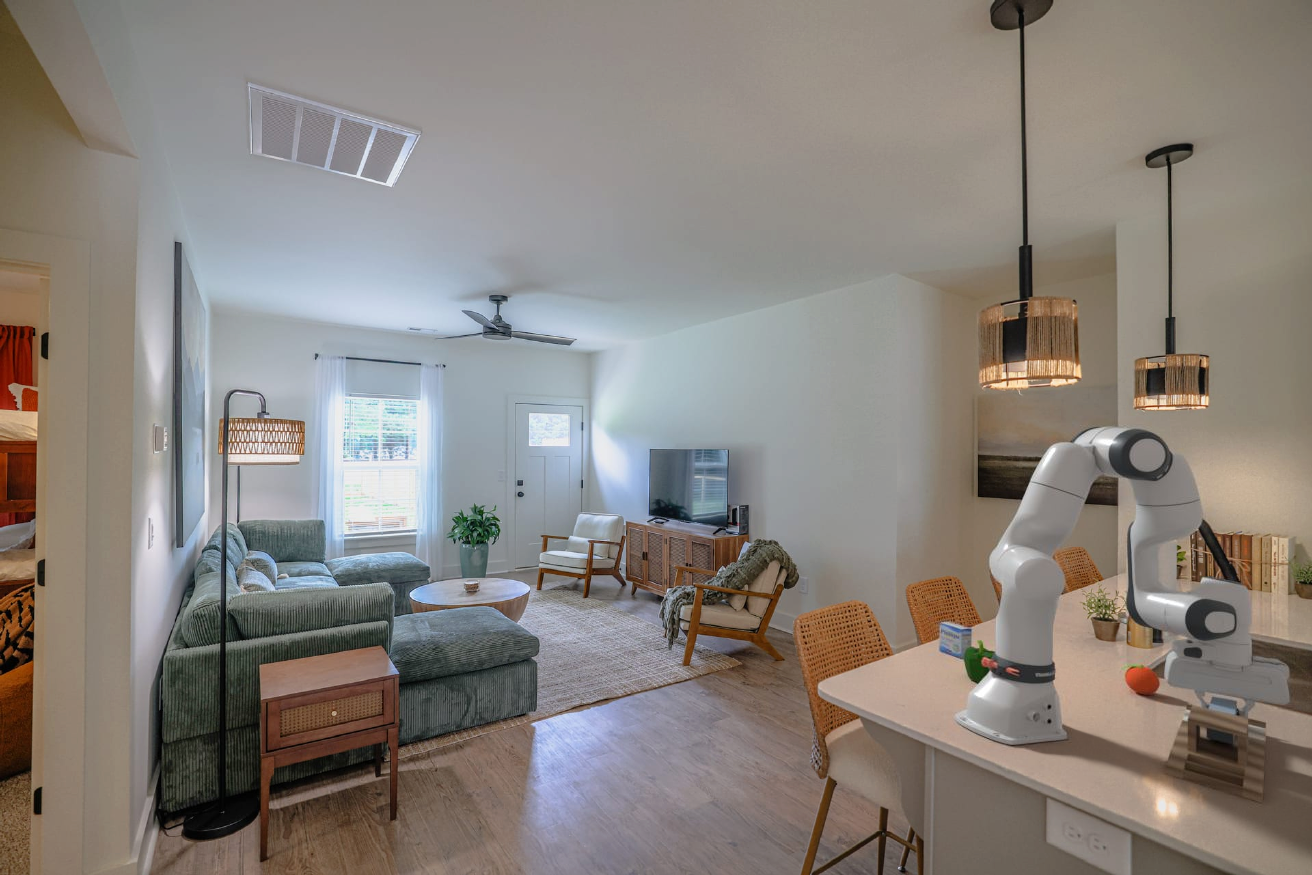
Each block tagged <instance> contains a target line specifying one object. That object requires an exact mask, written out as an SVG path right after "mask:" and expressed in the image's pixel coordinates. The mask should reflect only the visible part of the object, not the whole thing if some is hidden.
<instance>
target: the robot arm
mask: <svg viewBox="0 0 1312 875" xmlns="http://www.w3.org/2000/svg"><path fill="white" fill-rule="evenodd" d="M1102 475H1104V476H1106V477H1110V478H1118V479H1127V481H1129V484H1130V485H1131V487H1132V491H1133V498H1134V502H1135V517H1134V520H1133V521H1131V523H1130V525H1129V526H1128V529H1127V534H1126V535H1127V536H1126V548H1127V549H1126V550H1127V551H1126V557H1127V576H1128V577H1127V579H1128V581H1127V582H1128V584H1127V585H1128V586H1127V593H1126V597H1125V606H1126V610H1127V613H1128V615H1129V616H1130V618H1131V619H1132V621H1133V622H1134V623H1136V624H1137V625H1139V626H1141V627H1143V628H1147V629H1154V630H1159V631H1164V632H1167V633H1169V634H1170V633H1171V634H1173V635H1175V636H1181V637H1184V638H1182V639H1181V638H1180V639H1173V640H1172V641H1171V643H1170V644H1171V649H1172V651H1170V652H1169V653H1168V654H1167V655H1166V659H1165V665H1164V675H1163V676H1164V677H1163V678H1164V680H1165V682H1167V684H1168V685H1169V686H1170V687H1173V688H1179V689H1186V690H1191V691H1194V694H1195V695H1196V696H1197V698H1198V700H1199V701H1200V707H1203V708H1207V709H1209V706H1210V702H1206V701H1205V700H1204V698H1203V697H1205V696H1206V693H1209V694H1216V695H1220V696H1225V697H1233V698H1239V699H1243V701H1244V702H1245V703H1244V705H1243V706H1242V707H1241V708H1240V707H1237V716H1242V717H1246V718H1249V712H1250V711H1252V709H1253V708H1254V707H1255V706H1256V701H1257V702H1264V703H1267V704H1268V703H1269V704H1274V705H1275V704H1276V705H1282V706H1285V705H1287V704H1288V703H1290V692H1289V686H1288V680H1289V679H1290V667H1289V666H1288V665H1287V664H1286V663H1285V662H1283V661H1281V660H1280V659H1277V658H1272V657H1271V658H1268V657H1264V656H1257V655H1253V651H1252V650H1253V647H1252V646H1253V643H1252V642H1253V641H1252V637H1251V636H1250V635H1251V634H1250V629H1251V626H1252V622H1253V621H1252V619H1253V618H1252V617H1253V615H1252V614H1253V613H1252V603H1251V602H1252V601H1251V596H1250V592H1249V590H1248V588H1247V586H1246V585H1245V584H1243V583H1241V582H1238V581H1233V580H1230V579H1226V578H1225V579H1224V578H1219V577H1214V576H1203V577H1201V580H1200V583H1199V585H1198V586H1196V587H1194V588H1193V589H1190V590H1188V591H1180V590H1176V589H1172V588H1168V587H1166V586H1165V585H1164V584H1162V582H1161V580H1160V562H1159V561H1160V560H1159V558H1160V557H1159V551H1160V548H1161V547H1162V546H1163V545H1164V544H1167V543H1170V542H1174V541H1179V540H1182V539H1185V538H1187V537H1189V536H1191V535H1193V533H1195V532H1196V531H1197V530H1198V529H1199V528H1200V527H1201V525H1202V523H1203V518H1204V517H1203V515H1204V512H1203V506H1202V501H1201V498H1200V493H1199V489H1198V486H1197V485H1198V484H1197V482H1196V479H1195V477H1194V476H1195V475H1194V473H1193V472H1192V468H1191V467H1190V465H1189V462H1188V461H1187V458H1185V456H1184V455H1182V454H1181V453H1179V452H1177V451H1173V450H1170V449H1169V446H1168V445H1167V443H1166V442H1165V440H1164V439H1163V438H1162V437H1161V436H1159V435H1157V434H1156V433H1154V432H1151V431H1150V430H1147V429H1146V430H1145V429H1141V428H1129V427H1123V426H1095V427H1094V426H1093V427H1089V428H1086V429H1084V430H1082V431H1080V432H1078V433H1077V434H1076V435H1075V436H1074V437H1073V438H1071V440H1070V441H1069V442H1068V441H1066V442H1065V441H1062V442H1056V443H1053V444H1052V445H1051V446H1050V447H1048V449H1047V450H1046V452H1045V453H1044V454H1043V456H1042V457H1041V459H1040V460H1039V462H1038V465H1037V466H1036V468H1035V470H1034V472H1033V474H1032V476H1031V477H1030V480H1029V482H1028V486H1027V487H1026V490H1025V493H1024V494H1023V497H1022V500H1021V501H1020V504H1019V506H1018V509H1017V512H1016V513H1015V516H1014V517H1013V519H1012V521H1011V522H1010V524H1009V525H1008V527H1007V529H1006V530H1005V532H1004V533H1003V535H1002V536H1001V538H1000V539H999V541H998V544H997V546H996V547H995V548H994V549H993V550H992V551H991V554H990V555H989V561H988V563H989V569H990V571H991V572H990V573H991V574H992V576H993V579H995V580H996V582H998V583H999V584H1000V585H1001V597H1000V603H999V604H1000V605H999V608H998V612H997V615H996V617H995V632H994V633H995V635H994V636H995V637H994V638H995V639H994V640H995V648H994V650H995V652H994V653H993V656H992V659H988V658H986V657H984V658H983V660H982V662H981V663H982V665H983V666H985V667H989V669H990V671H989V673H988V674H987V675H986V676H985V677H984V678H983V679H982V680H981V681H980V682H978V684H976V686H975V687H974V688H972V690H971V691H970V692H969V694H968V696H967V700H966V701H967V703H966V709H963V710H961V711H959V712H957V713H955V714H954V720H955V721H956V722H957V723H958V724H959V725H960V726H962V727H965V728H966V729H968V730H970V731H972V732H974V733H975V734H978V735H980V736H982V737H984V738H987V739H990V740H992V741H996V742H998V743H1002V744H1004V745H1009V746H1010V745H1011V746H1012V745H1014V746H1015V745H1025V744H1033V743H1035V744H1036V743H1043V742H1052V741H1062V740H1068V733H1067V732H1066V730H1064V728H1063V721H1062V712H1061V700H1060V695H1059V694H1058V692H1057V689H1056V688H1055V684H1054V681H1055V679H1056V672H1057V671H1056V663H1055V662H1054V661H1053V660H1054V659H1053V657H1054V656H1053V652H1054V644H1053V643H1054V624H1055V618H1056V614H1057V610H1058V606H1059V602H1060V601H1059V600H1060V597H1061V595H1062V593H1063V592H1064V590H1065V587H1066V578H1065V577H1066V576H1065V574H1064V572H1063V570H1062V568H1061V567H1060V565H1059V564H1058V563H1057V561H1056V560H1055V559H1054V558H1053V556H1054V555H1055V554H1056V552H1057V551H1058V549H1059V548H1060V547H1061V545H1062V544H1063V542H1064V541H1065V540H1066V539H1067V538H1068V537H1069V536H1071V534H1072V533H1073V531H1074V529H1075V527H1076V524H1077V522H1078V520H1079V518H1080V515H1081V512H1082V511H1083V508H1084V505H1085V504H1086V503H1085V502H1086V500H1087V498H1088V495H1089V493H1090V491H1091V490H1090V489H1091V486H1092V485H1093V483H1094V482H1095V481H1096V480H1097V479H1098V478H1099V477H1100V476H1102Z"/></svg>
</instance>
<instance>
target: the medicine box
mask: <svg viewBox="0 0 1312 875" xmlns="http://www.w3.org/2000/svg"><path fill="white" fill-rule="evenodd" d="M972 631H973V629H972V628H971V627H968V626H965V625H961V624H957V623H955V622H952V621H942V622H940V623H939V640H938V641H939V645H938V648H939V649H938V650H939V651H940V652H941V653H943V654H946V655H949V656H952V657H956V658H958V659H961V660H962V659H963V660H964V653H965V651H966V650H967V648H969V647H970V646H971V647H972V641H973V640H972V637H973V636H972V634H973V632H972Z"/></svg>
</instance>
